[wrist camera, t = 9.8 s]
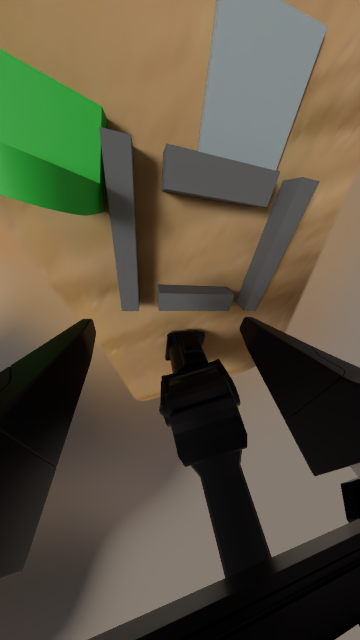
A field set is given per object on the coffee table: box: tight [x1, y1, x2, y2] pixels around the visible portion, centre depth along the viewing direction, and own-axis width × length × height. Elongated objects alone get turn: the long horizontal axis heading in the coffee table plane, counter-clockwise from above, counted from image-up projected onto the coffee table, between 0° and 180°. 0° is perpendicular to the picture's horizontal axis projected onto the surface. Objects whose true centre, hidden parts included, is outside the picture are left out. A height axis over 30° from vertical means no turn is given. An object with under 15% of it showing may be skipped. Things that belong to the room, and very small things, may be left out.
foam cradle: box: [99, 127, 320, 311], centre depth 17 cm, size 14×19×2 cm
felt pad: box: [198, 0, 328, 171], centre depth 12 cm, size 8×8×1 cm
